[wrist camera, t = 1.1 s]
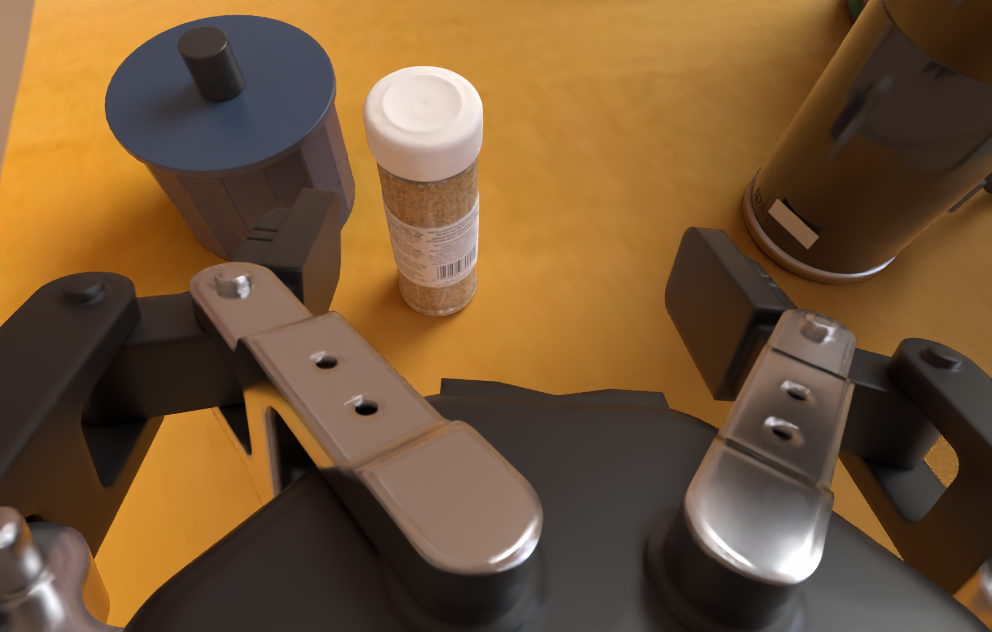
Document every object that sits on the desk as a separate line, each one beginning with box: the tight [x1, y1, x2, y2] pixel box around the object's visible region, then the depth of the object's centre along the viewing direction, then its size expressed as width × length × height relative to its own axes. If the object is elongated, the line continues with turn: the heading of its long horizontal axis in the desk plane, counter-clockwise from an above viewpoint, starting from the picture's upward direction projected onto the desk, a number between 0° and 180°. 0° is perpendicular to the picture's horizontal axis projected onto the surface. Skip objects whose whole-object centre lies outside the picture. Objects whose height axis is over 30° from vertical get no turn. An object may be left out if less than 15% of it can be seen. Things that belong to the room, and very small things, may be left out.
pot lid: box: [105, 15, 336, 178], centre depth 28 cm, size 11×11×4 cm
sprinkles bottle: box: [363, 66, 483, 316], centre depth 28 cm, size 5×5×13 cm
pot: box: [145, 105, 355, 261], centre depth 33 cm, size 10×10×8 cm
